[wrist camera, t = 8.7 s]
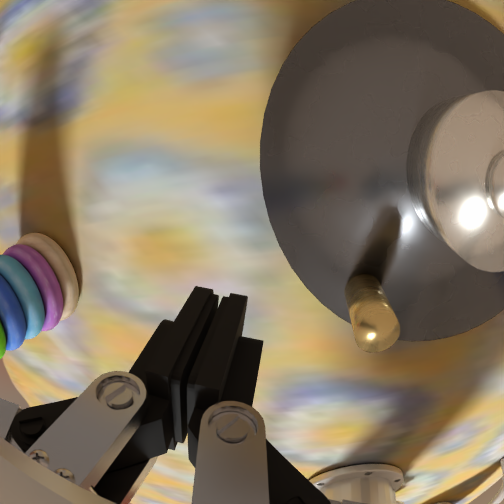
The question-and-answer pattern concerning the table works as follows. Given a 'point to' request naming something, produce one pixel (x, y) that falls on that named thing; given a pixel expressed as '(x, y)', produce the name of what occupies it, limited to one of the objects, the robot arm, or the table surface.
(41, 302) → the stacking toy
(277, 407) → the table surface
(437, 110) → the cover
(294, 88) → the turntable
